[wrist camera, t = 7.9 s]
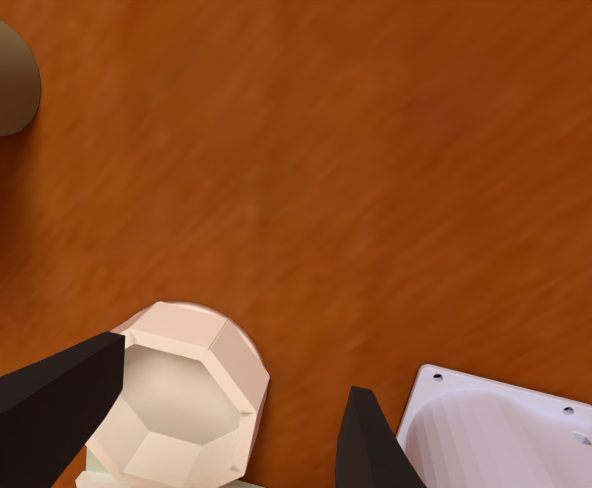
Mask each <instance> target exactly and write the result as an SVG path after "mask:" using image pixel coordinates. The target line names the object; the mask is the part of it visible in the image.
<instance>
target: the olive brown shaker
mask: <svg viewBox="0 0 592 488" xmlns="http://www.w3.org/2000/svg"><path fill="white" fill-rule="evenodd" d="M40 94H41V83H40V76H39V69H38V67H37V64H36V62H35V59H34V57H33V54H32V52H31V50H30V49H29V47H28V46H27V44H26V43H25V42H24V40H23V39H22V38H21V36H20V35H19V34H18V33H17V32H16V31H14V30H13V29H12V28H11V27H9V26H8V25H7V24H6V23H4V22H3V21H0V136H8V135H11V134H14V133H17V132H20V131H21V130H22V129H23V128H25V127H26V126H27V125H28V124H29V123H30V122H31V121H32V119H33V117H34V115H35V113H36V111H37V109H38V107H39V101H40Z"/></svg>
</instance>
